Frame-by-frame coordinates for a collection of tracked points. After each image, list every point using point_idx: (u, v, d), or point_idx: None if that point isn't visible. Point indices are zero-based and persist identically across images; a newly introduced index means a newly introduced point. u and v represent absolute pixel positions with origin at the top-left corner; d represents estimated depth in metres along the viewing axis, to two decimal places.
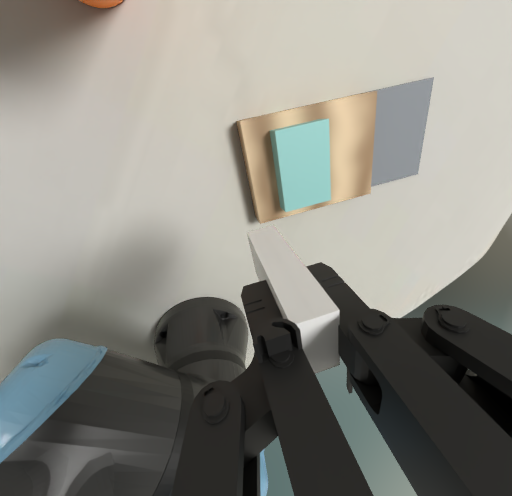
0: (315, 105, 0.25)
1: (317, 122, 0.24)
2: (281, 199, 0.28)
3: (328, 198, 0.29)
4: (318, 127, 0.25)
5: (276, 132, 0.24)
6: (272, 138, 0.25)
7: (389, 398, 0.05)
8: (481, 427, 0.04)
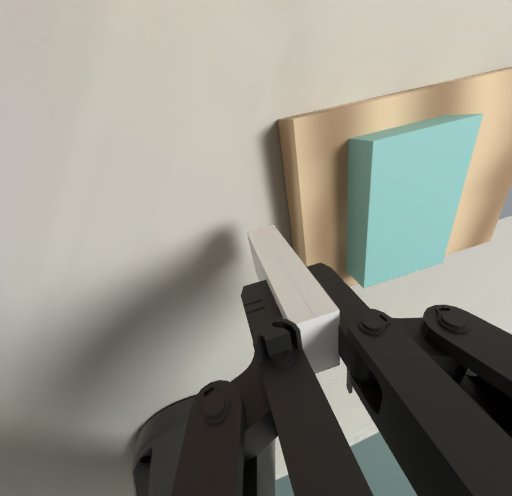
0: (443, 87, 0.12)
1: (459, 122, 0.11)
2: (355, 263, 0.15)
3: (439, 260, 0.16)
4: (459, 132, 0.12)
5: (376, 143, 0.11)
6: (356, 155, 0.12)
7: (389, 398, 0.05)
8: (481, 427, 0.04)
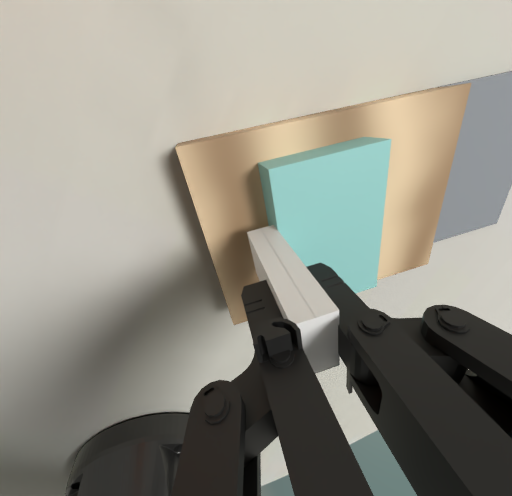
0: (344, 112, 0.12)
1: (365, 147, 0.11)
2: None
3: (372, 284, 0.15)
4: (367, 158, 0.11)
5: (272, 172, 0.10)
6: (264, 180, 0.12)
7: (389, 398, 0.05)
8: (481, 427, 0.04)
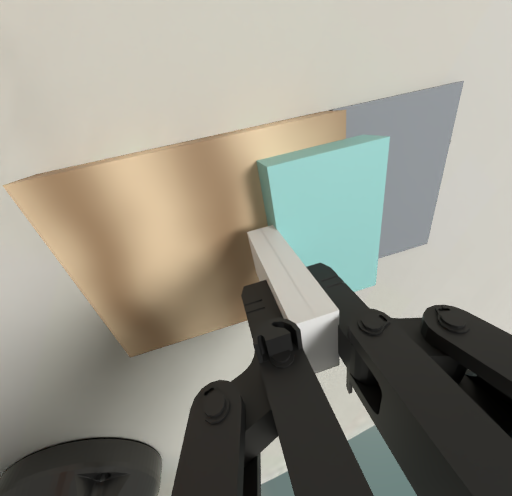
0: (200, 144, 0.11)
1: (364, 145, 0.11)
2: None
3: (371, 283, 0.15)
4: (365, 155, 0.11)
5: (270, 169, 0.10)
6: (262, 178, 0.12)
7: (389, 398, 0.05)
8: (481, 427, 0.04)
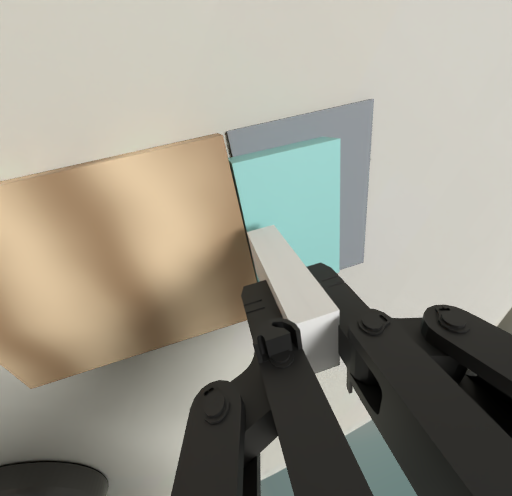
0: (56, 175, 0.10)
1: (317, 146, 0.12)
2: None
3: (335, 270, 0.17)
4: (319, 154, 0.13)
5: (235, 166, 0.12)
6: None
7: (389, 398, 0.05)
8: (481, 427, 0.04)
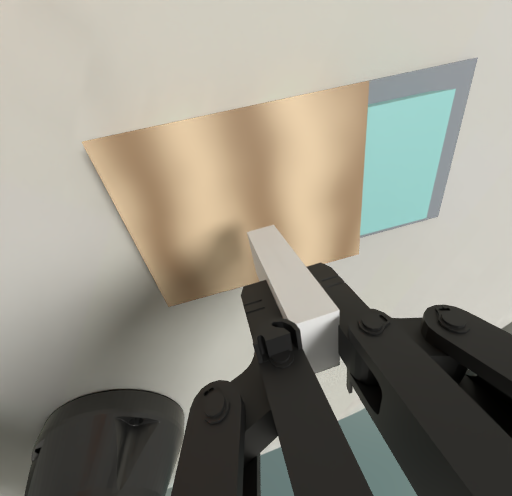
0: (242, 109, 0.13)
1: (436, 94, 0.15)
2: None
3: (423, 215, 0.19)
4: (436, 103, 0.15)
5: (370, 109, 0.14)
6: None
7: (389, 398, 0.05)
8: (481, 427, 0.04)
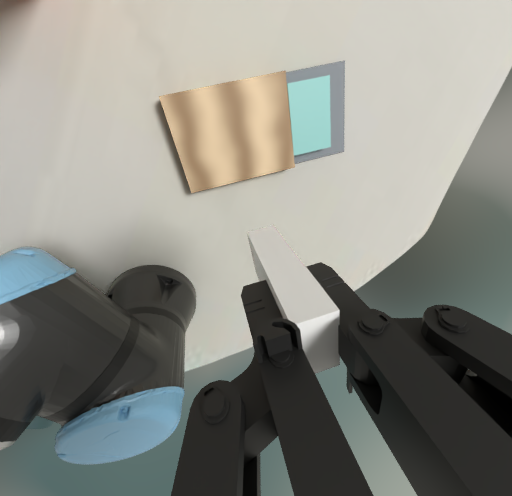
0: (228, 83, 0.29)
1: (320, 77, 0.31)
2: None
3: (328, 145, 0.35)
4: (321, 82, 0.31)
5: (288, 84, 0.30)
6: None
7: (389, 398, 0.05)
8: (481, 427, 0.04)
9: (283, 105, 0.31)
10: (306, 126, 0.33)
